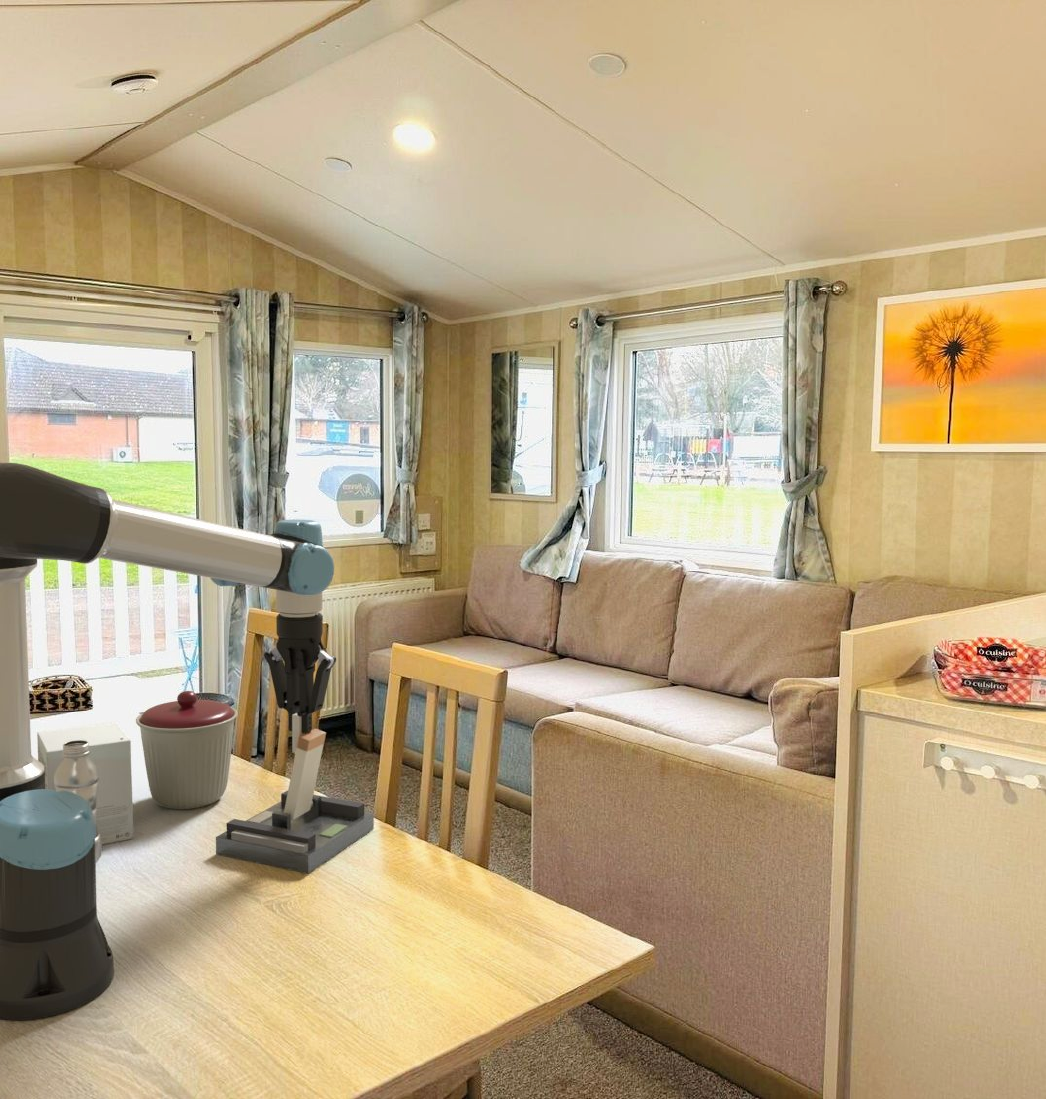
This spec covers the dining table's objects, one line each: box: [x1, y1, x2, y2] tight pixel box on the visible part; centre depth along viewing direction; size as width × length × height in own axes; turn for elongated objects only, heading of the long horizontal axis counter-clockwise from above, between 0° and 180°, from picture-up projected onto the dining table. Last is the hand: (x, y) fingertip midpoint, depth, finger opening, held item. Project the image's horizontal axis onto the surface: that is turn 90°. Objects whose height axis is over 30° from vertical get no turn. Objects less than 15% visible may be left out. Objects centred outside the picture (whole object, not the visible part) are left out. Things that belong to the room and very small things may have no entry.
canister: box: [135, 690, 239, 810], centre depth 184 cm, size 18×18×21 cm
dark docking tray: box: [226, 789, 365, 854], centre depth 166 cm, size 18×16×2 cm
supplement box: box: [36, 721, 134, 845], centre depth 168 cm, size 13×13×18 cm
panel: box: [215, 794, 375, 875], centre depth 167 cm, size 20×18×6 cm
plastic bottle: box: [54, 740, 103, 863], centre depth 155 cm, size 6×7×20 cm
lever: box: [284, 728, 327, 820], centre depth 165 cm, size 7×2×15 cm, turn 158°
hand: (300, 750), depth 165 cm, fingers closed
